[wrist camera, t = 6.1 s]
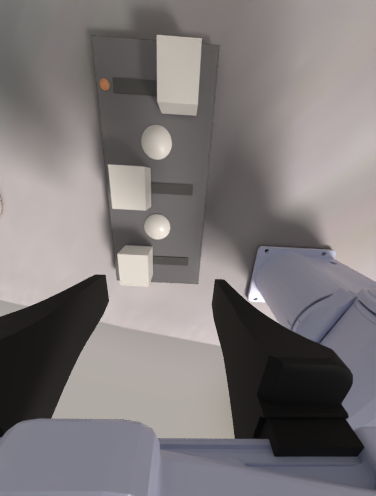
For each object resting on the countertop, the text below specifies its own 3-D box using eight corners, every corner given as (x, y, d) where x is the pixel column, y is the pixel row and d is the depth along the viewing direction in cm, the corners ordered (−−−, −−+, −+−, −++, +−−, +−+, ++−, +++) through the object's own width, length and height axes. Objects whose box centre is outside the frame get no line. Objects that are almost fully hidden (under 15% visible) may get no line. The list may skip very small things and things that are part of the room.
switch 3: (199, 61, 14) (201, 38, 12) (196, 115, 15) (197, 104, 13) (161, 58, 14) (156, 34, 12) (161, 113, 15) (157, 101, 13)
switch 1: (150, 168, 17) (144, 166, 15) (151, 206, 18) (145, 210, 16) (118, 166, 17) (107, 164, 15) (121, 204, 18) (112, 208, 16)
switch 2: (152, 246, 20) (147, 255, 18) (153, 274, 21) (148, 286, 19) (125, 245, 20) (117, 254, 17) (127, 273, 21) (120, 285, 19)
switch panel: (216, 57, 15) (219, 44, 14) (197, 277, 23) (198, 284, 22) (100, 48, 15) (90, 34, 14) (121, 274, 23) (116, 280, 22)
